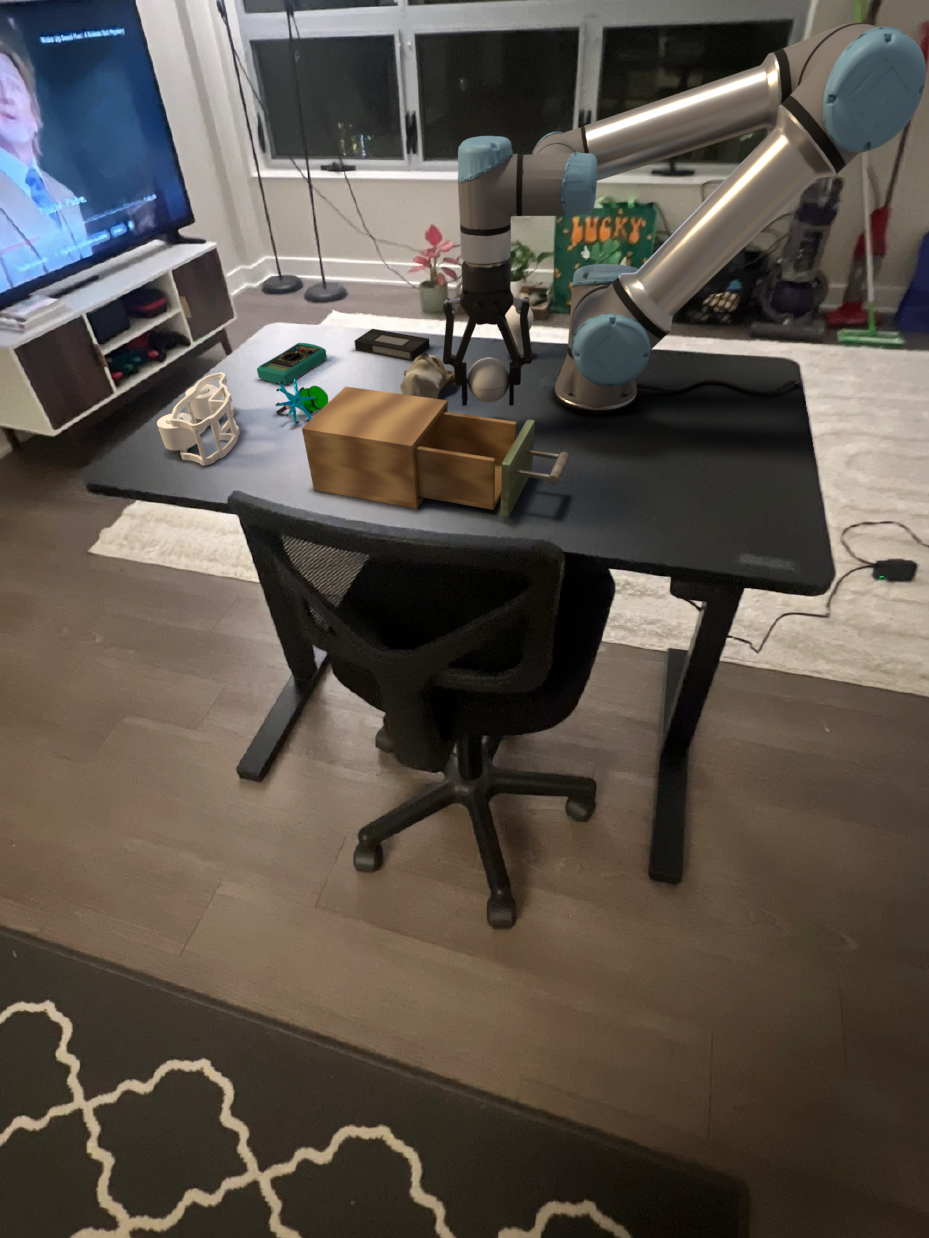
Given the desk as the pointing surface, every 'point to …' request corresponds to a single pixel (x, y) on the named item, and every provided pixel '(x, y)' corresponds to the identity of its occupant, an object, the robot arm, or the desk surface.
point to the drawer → (479, 461)
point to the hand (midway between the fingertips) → (488, 402)
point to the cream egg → (488, 379)
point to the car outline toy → (205, 405)
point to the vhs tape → (392, 344)
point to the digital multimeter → (292, 363)
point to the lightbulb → (517, 325)
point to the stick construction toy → (303, 400)
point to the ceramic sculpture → (426, 377)
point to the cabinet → (370, 444)
